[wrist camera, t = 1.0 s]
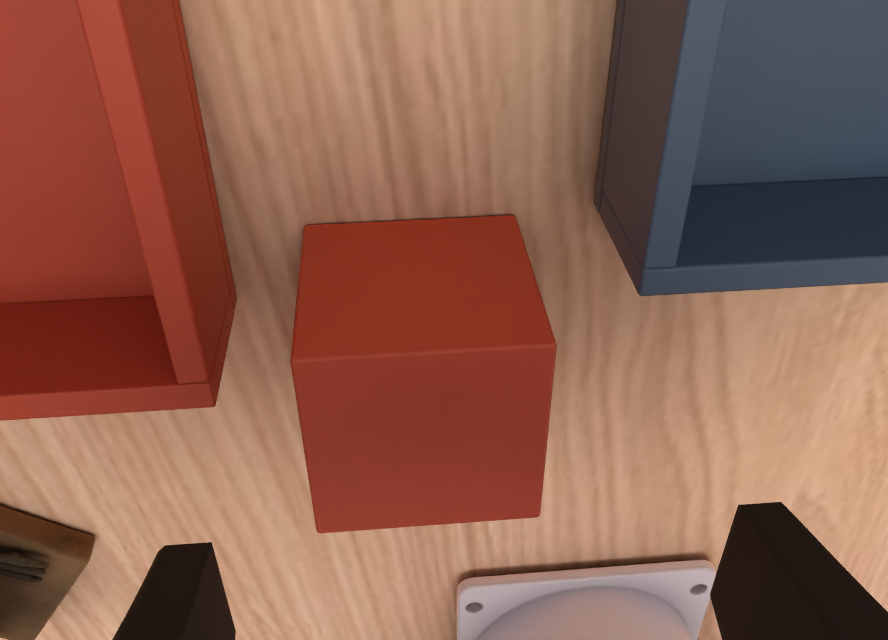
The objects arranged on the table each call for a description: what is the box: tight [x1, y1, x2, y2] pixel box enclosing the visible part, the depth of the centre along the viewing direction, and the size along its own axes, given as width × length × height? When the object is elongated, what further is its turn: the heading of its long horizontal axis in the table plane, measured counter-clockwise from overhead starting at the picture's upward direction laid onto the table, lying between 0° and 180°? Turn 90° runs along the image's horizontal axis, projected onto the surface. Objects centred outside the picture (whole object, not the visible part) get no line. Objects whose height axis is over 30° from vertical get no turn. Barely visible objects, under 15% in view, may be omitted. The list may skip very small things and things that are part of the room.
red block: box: [290, 215, 557, 533], centre depth 17 cm, size 4×4×4 cm
